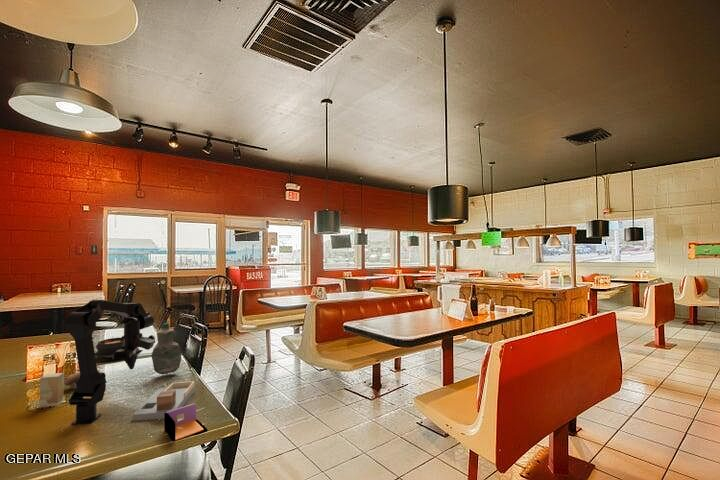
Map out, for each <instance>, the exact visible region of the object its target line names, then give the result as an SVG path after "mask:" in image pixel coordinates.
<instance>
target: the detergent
mask: <svg viewBox="0 0 720 480" xmlns="http://www.w3.org/2000/svg"><path fill="white" fill-rule="evenodd" d="M161 328H162V329H160V330H158V331H157V333H156V339H157V343H156V345H154V346H153V349H152V352H151V360H152V365H153V370H154V371H155V372H156V373H157V374H159V375H167V374H171V373H175V372H177V371H178V370H179V368H180V366H181V362H182V351H181V347H180V344H179V343H178V342H175V341H174V337H175V329H172V328H170V325H169V323H168V322H166V323H163V324H162V325H161Z"/></svg>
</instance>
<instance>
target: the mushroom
mask: <svg viewBox="0 0 720 480" xmlns="http://www.w3.org/2000/svg"><path fill="white" fill-rule="evenodd" d="M79 377H80V372H75V373H72V374H70V375H68V376H67V377H66V378H65V379H64V386H70V387H69V389H70V390H73V389H76V383H77V381H78V379H79Z"/></svg>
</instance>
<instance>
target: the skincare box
mask: <svg viewBox="0 0 720 480" xmlns="http://www.w3.org/2000/svg"><path fill="white" fill-rule="evenodd" d="M39 379H40V381H39V382H40V383H39V404H38V406H39V408H47V407H48V408H49V406H51V407H58V406H59V405H61V404H62V403H64V392H65V391H64V388H65V384H64V382H65V372H59V373H58V372H57V373H56V372H55V373H45V374H44V375H43V376H41V377H40V378H39ZM60 403H61V404H60Z"/></svg>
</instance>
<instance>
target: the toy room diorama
mask: <svg viewBox="0 0 720 480" xmlns="http://www.w3.org/2000/svg"><path fill="white" fill-rule="evenodd" d="M179 416H181V418H179ZM163 421H164V425H163V426H164V428H163V429H164V432H165V433H166V435H167V436H168V437H169V439H170V440H171V442H177V441H180V440H183V439H186V438H189V437H192V436H199V435H202V434H204V433H206V432H208V429H207V427H206V426H205V425H204V424H203V423H201V422H200V420H198V419H197V403H191V404H188V405H186V406H185V405H184V406H183V407H181V408H178V409H174V410H171V411H168V412H166V413H164V420H163Z"/></svg>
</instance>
